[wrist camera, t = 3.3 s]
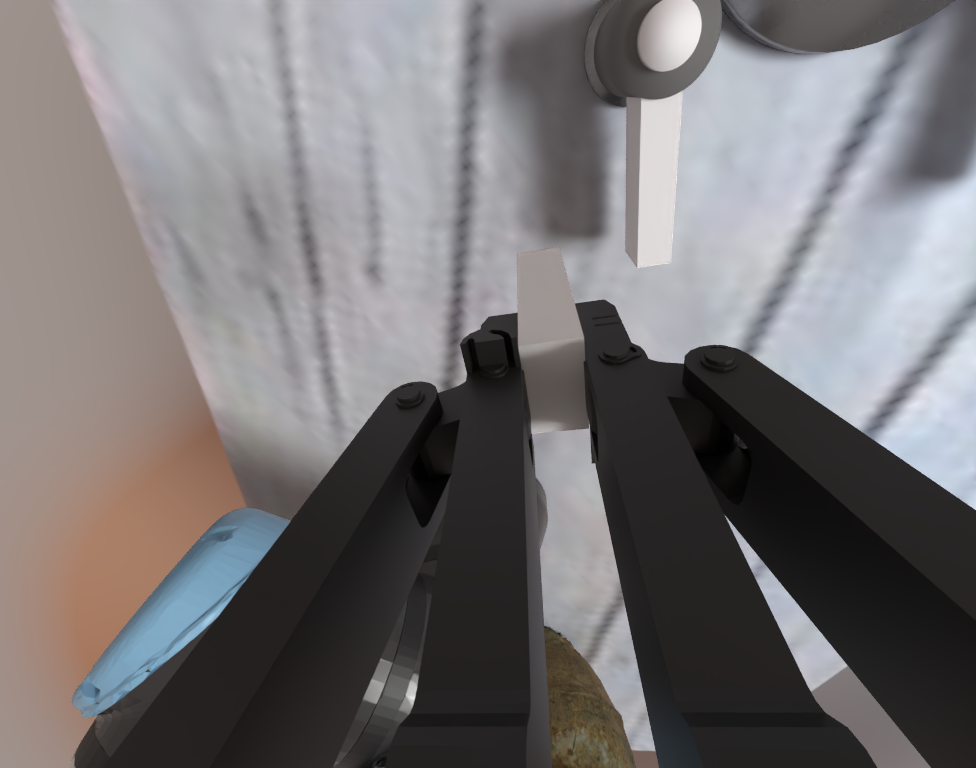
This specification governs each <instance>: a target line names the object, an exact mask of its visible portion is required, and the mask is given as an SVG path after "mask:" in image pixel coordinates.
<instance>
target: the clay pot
mask: <svg viewBox="0 0 976 768" xmlns="http://www.w3.org/2000/svg"><path fill="white" fill-rule="evenodd" d="M544 636H545V653H546V671H547V688H548V706H549V723H550V741H551V758H552V768H636V765H635V761H634V757H633V754H632V751H631V748H630V745H629V742H628V739H627V737H626V733H625V730H624V727H623V720H622V717H621V715H620V714H619V712H618V711H617V710H616V709H615V707H614V705H613V704H612V702H611V700H610V698H609V696H608V694H607V692H606V690H605V689H604V687H603V685H602V683H601V681H600V679H599V678H598V676H597V675H596V674H595V672H594V671H593V669H592V668H591V666H590V665H589V664H588V663H587V661H586V660H585V659H584V658H583V657H582V656H581V655H580V653H578V652H577V651H576V650H575V649H574V648H573V646H572V644H571V642H569V641H568V640H567V638H562V637H561V636H559V635H558V634H557V633H555V632H553V631H552V629H551V628H544Z"/></svg>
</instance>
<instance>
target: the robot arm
mask: <svg viewBox="0 0 976 768" xmlns="http://www.w3.org/2000/svg"><path fill="white" fill-rule="evenodd" d="M517 299H518V313H513V314H505V315H498V316H491V317H488V318H487V319H486V321H485V322H484V323H483V324H482V325H481V330H478V331H475V332H473V333H471V334H469V335H468V336H467V337H465V338H464V339H463V340H462V342H461V344H460V346H461V350H462V354H463V358H464V363H465V367H466V371H467V379H466V382H464V383H463V384H461V385H459V386H457V387H455V388H452V389H449V390H446V391H443V392H440V393H438V392H437V389H436V387H435V386H434V385H432V384H431V383H427V382H411V383H407V384H404V385H401V386H400V387H398V388H396V389H394V390H393V391H391V392H390V393H389V394H388V395H387V396H386V397H385V398H384V400H383V401H382V402H381V404H380V405H379V406H378V408H377V409H376V410H375V412H374V413H373V414H372V415H371V417H370V418H369V419H368V421H367V422H366V423H365V425H364V426H363V427H362V429H361V430H360V431H359V433H358V434H357V435H356V436H355V438H354V439H353V440H352V442H351V443H350V444H349V446H348V447H347V448H346V450H345V451H344V452H343V453H342V455H341V456H340V457H339V459H338V460H337V461H336V463H335V464H334V465H333V467H332V468H331V469H330V471H329V472H328V473H327V474H326V476H325V477H324V478H323V480H322V481H321V482H320V484H319V485H318V486H317V488H316V489H315V490H314V491H313V493H312V494H311V495H310V497H309V498H308V499H307V501H306V502H305V503H304V505H303V506H302V507H301V509H300V510H299V511H298V512H297V514H296V515H295V516H294V518H293V519H292V520H288V519H285V518H282V517H279V516H277V515H274V514H271V513H268V512H265V511H263V510H260V509H256V508H241V509H237V510H234V511H232V512H230V513H228V514H226V515H224V516H223V517H221V518H220V519H219V520H218V521H217V522H215V523H214V524H213V525H212V526H211V527H210V528H209V529H208V530H207V531H206V532H205V533H204V534H203V536H202V537H201V538H200V539H199V540H198V541H197V542H196V543H195V544H194V545H193V546H192V548H191V549H190V550H189V551H188V552H187V553H186V554H185V556H184V557H183V558H182V559H181V560H180V561H179V562H178V563H177V565H176V566H175V567H174V568H173V569H172V570H171V572H170V573H169V574H168V575H167V576H166V577H165V579H164V580H163V581H162V582H161V583H160V584H159V586H158V587H157V588H156V589H155V590H154V592H153V593H152V594H151V595H150V596H149V597H148V599H147V600H146V601H145V602H144V603H143V605H142V606H141V607H140V608H139V609H138V611H137V612H136V613H135V614H134V615H133V617H132V618H131V619H130V620H129V621H128V623H127V624H126V625H125V626H124V628H123V629H122V630H121V631H120V633H119V634H118V635H117V636H116V638H115V639H114V640H113V641H112V643H111V644H110V645H109V646H108V648H107V649H106V650H105V651H104V653H103V654H102V655H101V657H100V658H99V659H98V661H97V662H96V663H95V665H94V666H93V668H92V670H91V671H90V672H89V674H88V675H87V677H86V678H85V680H84V681H83V683H82V684H81V685H79V686H78V688H77V689H76V691H75V693H74V695H73V697H72V704H73V706H74V707H75V708H77V709H79V710H80V711H81V712H82V716H83V717H89V718H91V717H93V716H94V715H97V718H96V719H95V721H94V722H93V724H92V725H91V727H90V728H89V730H88V732H87V733H86V735H85V736H84V738H83V740H82V741H81V743H80V744H79V746H78V748H77V749H76V751H75V753H74V755H73V757H72V759H71V765H70V768H552V758H551V741H550V723H549V706H548V688H547V671H546V653H545V636H544V618H543V600H542V583H541V565H540V548H541V545H542V542H543V538H544V535H545V532H546V528H547V521H548V515H547V503H546V495H545V492H544V490H543V487H542V486H541V484H540V482H539V481H538V480H537V478H536V477H535V460H534V446H533V439H532V434H534V433H544V432H555V431H565V430H576V429H586V428H589V424H590V435H591V455H592V463H595V464H596V469H597V474H598V478H599V483H600V488H601V493H602V497H603V502H604V507H605V512H606V516H607V521H608V526H609V531H610V535H611V540H612V545H613V550H614V555H615V559H616V564H617V569H618V574H619V578H620V583H621V588H622V593H623V597H624V602H625V607H626V612H627V616H628V621H629V626H630V631H631V635H632V640H633V645H634V650H635V654H636V659H637V664H638V669H639V674H640V678H641V683H642V688H643V693H644V697H645V702H646V707H647V712H648V716H649V721H650V726H651V731H652V735H653V740H654V745H655V750H656V754H657V759H658V764H659V768H877V767H876V765H875V763H874V762H873V760H872V758H871V757H870V755H869V754H868V752H867V750H866V749H865V748H864V746H863V745H862V744H861V743H860V742H859V741H858V739H857V738H856V737H855V736H854V734H853V733H852V732H851V731H850V730H849V729H848V727H846V726H844V725H843V724H841V723H840V722H839V721H837V720H835V719H834V718H832V717H831V716H829V715H828V714H826V713H825V712H824V711H823V710H822V708H821V707H820V706H819V704H818V703H817V702H816V700H815V699H814V697H813V695H812V693H811V691H810V690H809V688H808V686H807V684H806V682H805V680H804V678H803V676H802V674H801V672H800V670H799V668H798V665H797V663H796V661H795V659H794V657H793V655H792V653H791V651H790V649H789V647H788V645H787V643H786V641H785V639H784V637H783V635H782V633H781V630H780V628H779V626H778V624H777V622H776V620H775V618H774V616H773V614H772V612H771V610H770V608H769V606H768V604H767V602H766V600H765V598H764V595H763V593H762V591H761V589H760V587H759V585H758V583H757V581H756V579H755V577H754V575H753V573H752V571H751V569H750V567H749V565H748V563H747V560H746V558H745V556H744V554H743V552H742V550H741V548H740V546H739V544H738V542H737V540H736V538H735V536H734V534H733V532H732V530H731V528H730V526H729V523H728V521H727V519H726V517H727V518H728V519H729V521H730V522H731V523H732V524H733V525H734V527H735V528H736V529H737V530H738V532H739V533H740V534H741V535H742V536H743V538H744V539H745V540H746V541H747V543H748V544H749V545H750V546H751V547H752V549H753V550H754V551H755V552H756V554H757V555H758V556H759V557H760V559H761V560H762V561H763V562H764V563H765V565H766V566H767V567H768V568H769V570H770V571H771V572H772V573H773V574H774V576H775V577H776V578H777V579H778V581H779V582H780V583H781V584H782V585H783V587H784V588H785V589H786V590H787V592H788V593H789V594H790V595H791V596H792V598H793V599H794V600H795V601H796V603H797V604H798V605H799V606H800V607H801V609H802V610H803V611H804V612H805V614H806V615H807V616H808V617H809V619H810V620H811V621H812V622H813V623H814V625H815V626H816V627H817V628H818V630H819V631H820V632H821V633H822V634H823V636H824V637H825V638H826V639H827V641H828V642H829V643H830V644H831V645H832V647H833V648H834V649H835V650H836V652H837V653H838V654H839V655H840V656H841V658H842V659H843V660H844V661H845V663H846V664H847V665H848V666H849V667H850V669H851V670H852V671H853V672H854V674H855V675H856V676H857V677H858V679H859V680H860V681H861V682H862V683H863V685H864V686H865V687H866V688H867V689H868V691H869V692H870V693H871V694H872V696H873V697H874V698H875V699H876V701H877V702H878V703H879V704H880V705H881V706H882V708H883V709H884V710H885V712H886V713H887V714H888V715H889V716H890V718H891V719H892V720H893V721H894V722H895V724H896V725H897V726H898V727H899V729H900V730H901V731H902V732H903V734H904V735H905V736H906V737H907V738H908V740H909V741H910V742H911V743H912V745H913V746H914V747H915V748H916V749H917V751H918V752H919V753H920V754H921V756H922V757H923V758H924V759H925V760H926V762H927V763H928V764H929V765H930V767H931V768H976V510H975V509H973V508H972V507H970V506H969V505H967V504H966V503H964V502H963V501H961V500H960V499H959V498H957V497H956V496H954V495H953V494H951V493H950V492H948V491H947V490H945V489H944V488H943V487H941V486H940V485H938V484H937V483H935V482H934V481H932V480H931V479H929V478H928V477H927V476H925V475H924V474H922V473H921V472H919V471H918V470H916V469H915V468H913V467H912V466H910V465H909V464H908V463H906V462H905V461H903V460H902V459H900V458H899V457H897V456H896V455H894V454H893V453H892V452H890V451H889V450H887V449H886V448H884V447H883V446H881V445H880V444H878V443H877V442H876V441H874V440H873V439H871V438H870V437H868V436H867V435H865V434H864V433H862V432H861V431H860V430H858V429H857V428H855V427H854V426H852V425H851V424H849V423H848V422H846V421H845V420H844V419H842V418H841V417H839V416H838V415H836V414H835V413H833V412H832V411H830V410H829V409H827V408H826V407H825V406H823V405H822V404H820V403H819V402H817V401H816V400H814V399H813V398H811V397H810V396H809V395H807V394H806V393H804V392H803V391H801V390H800V389H798V388H797V387H795V386H794V385H793V384H791V383H790V382H788V381H787V380H785V379H784V378H782V377H781V376H779V375H778V374H777V373H775V372H774V371H772V370H771V369H769V368H768V367H766V366H765V365H763V364H762V363H761V362H759V361H758V360H756V359H755V358H753V357H752V356H750V355H749V354H747V353H745V352H743V351H741V350H739V349H736V348H732V347H728V346H724V345H709V346H702V347H698V348H696V349H693V350H691V351H690V352H689V353H688V354H686V355H685V360H684V364H679V363H665V362H657V361H654V360H650V359H648V357H647V355H646V353H645V351H644V350H643V349H642V348H641V347H639V346H637V345H635V344H633V343H631V341H630V339H629V336H628V334H627V332H626V330H625V328H624V325H623V323H622V321H621V319H620V317H619V314H618V312H617V310H616V308H615V306H614V305H612V304H611V303H609V302H607V301H606V300H597V301H590V302H583V303H576V304H575V303H574V299H573V295H572V292H571V288H570V285H569V281H568V277H567V274H566V270H565V267H564V263H563V259H562V256H561V252H560V249H559V247H555V248H549V249H543V250H536V251H530V252H524V253H517ZM588 419H589V420H588ZM531 432H532V433H531ZM724 514H725V515H724ZM725 516H726V517H725Z"/></svg>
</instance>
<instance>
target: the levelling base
mask: <svg viewBox="0 0 976 768" xmlns="http://www.w3.org/2000/svg"><path fill="white" fill-rule="evenodd" d="M617 1H619V0H606V1H605V2H604V3H603V4H602V6H601V7H600V8H599V10H598V11H597V13H596V15H595V16H594V18H593V20H592V23H591V25H590V27H589V30H588V33H587V37H586V42H585V49H584V63H585V70H586V74H587V77H588V80H589V82H590V84H591V86H592V88H593V89H594V91H595V92H596V93H597V94H598V95H599V97H601V98H602V99H603V100H605V101H606V102H608V103H610V104H613V105H616V106H622V107H627V98H623V97H619V96H616V95H614V94H612V93H611V92H609V91H608V90H607V89H606V88H605V87H604V86H603V84H602V83H601V81H600V79H599V77H598V75H597V72H596V69H595V64H594V45H595V40H596V35H597V32H598V29H599V27H600V25H601V22H602V21H603V19H604V17H605V15H606V14H607V13H608V11H609V10H610V8H611V7H612V6H613V5H614V4H615V3H616V2H617ZM720 1H721V7H722V9H723V10H724V12H725V13H726V14H727V16H728V17H729V18H730V19H731V20H732V21H733V22H734V23H735V24H736V25H737V26H738V27H739V28H740V29H741V30H742V31H743V32H744V33H746V34H747V35H749V36H750V37H752V38H753V39H755V40H756V41H758V42H760V43H762V44H764V45H767V46H769V47H772V48H774V49H777V50H782V51H787V52H792V53H800V54H819V53H827V52H835V51H843V50H850V49H855V48H859V47H863V46H866V45H870V44H873V43H877V42H879V41H882V40H884V39H887V38H889V37H892V36H894V35H897V34H899V33H901V32H903V31H905V30H907V29H909V28H911V27H913V26H915V25H916V24H918V23H920V22H922V21H924V20H926V19H927V18H929V17H931V16H932V15H934V14H935V13H937V12H938V11H940V10H941V9H943V8H944V7H946V6H947V5H949V4H950V3H952V2H953V1H955V0H720Z"/></svg>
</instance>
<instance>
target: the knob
mask: <svg viewBox="0 0 976 768" xmlns="http://www.w3.org/2000/svg"><path fill="white" fill-rule="evenodd" d="M721 25H722V7H721V1H720V0H619V1H617V2H616V3H615V4H614V5H613V6H612V7H611V8H610V10H609V11H608V13H607V14H606V15H605V17H604V19H603V21H602V22H601V25H600V27H599V29H598V32H597V35H596V40H595V45H594V64H595V69H596V72H597V75H598V77H599V79H600V81H601V83H602V84H603V86H604V87H605V88H606V89H607V90H608V91H609V92H611V93H612V94H614V95H616V96H619V97H623V98H627V107H626V234H625V251H626V253H627V254H628V256H629V257H630V259H631V260H632V261H633V263H634V264H635V266H636V267H637V268H641V267H647V266H654V265H661V264H667V263H671V253H672V239H673V225H674V210H675V196H676V182H677V167H678V153H679V138H680V124H681V110H682V95H683V90H684V89H685V88H687V87H688V86H689V85H691V84H692V83H693V82H694V81H695V80H696V79H697V78H698V77H699V75H700V74H701V73H702V72H703V70H704V69H705V68H706V66H707V64H708V63H709V61H710V59H711V57H712V55H713V53H714V51H715V49H716V46H717V43H718V40H719V36H720V31H721Z"/></svg>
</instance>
